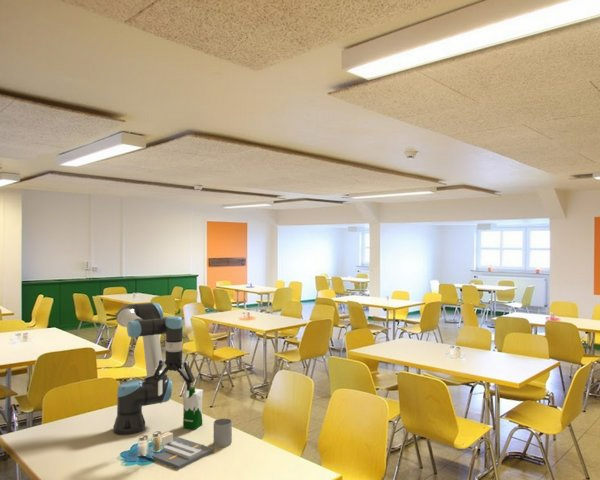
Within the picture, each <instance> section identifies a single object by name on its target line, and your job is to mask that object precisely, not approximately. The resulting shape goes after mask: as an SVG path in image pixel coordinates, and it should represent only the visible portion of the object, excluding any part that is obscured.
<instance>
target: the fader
mask: <svg viewBox="0 0 600 480" xmlns="http://www.w3.org/2000/svg"><path fill="white" fill-rule="evenodd" d="M160 435H161V438H162V444H163V445H168V443H170V442H172V441H173V438H174V433H173V432H172V431H171V432H170V431H167V432H165V433H162V434H160Z"/></svg>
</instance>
